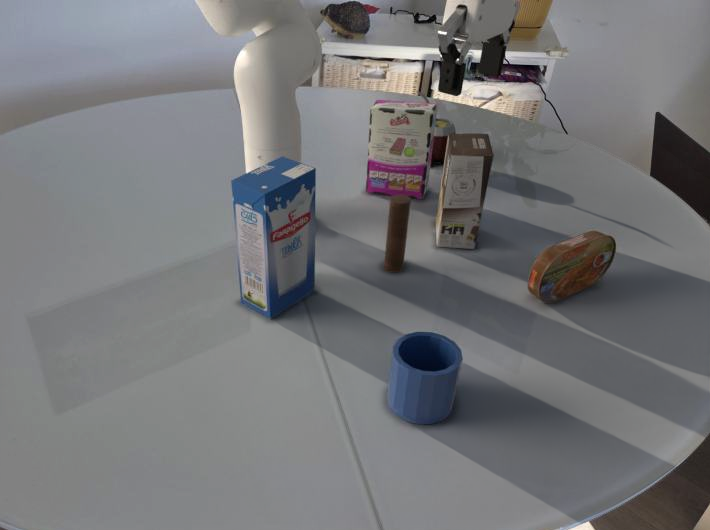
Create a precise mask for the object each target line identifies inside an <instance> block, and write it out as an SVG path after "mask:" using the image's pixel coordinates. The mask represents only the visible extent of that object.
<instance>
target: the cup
mask: <svg viewBox="0 0 710 530" xmlns="http://www.w3.org/2000/svg"><path fill="white" fill-rule="evenodd" d="M463 360H464V359H463V352H462V349H461V348H460V347H459V345H458V344H457V343H456V342H455V341H454V340H452V338H449V337H448V336H446V335H443V334H440V333H437V332H432V331H413V332H409V333H406V334H403V335H402V336H401V337H399V338H398V339H397V340H396V341H395V342H394V344H393V345H392V352H391V360H390V367H389V368H390V369H389V377H388V386H387V397H386V398H387V404H388V407H389V409H390V411H392V413H394V415H396V416H397V417H398V418H400V419H401V420H404V421H405V422H408V423H411V424H415V425H433V424H436V423H440V422H442V421H443V420H445V419H446V418H447V417H449V415H450V413H451V412H452V410H453V405H454V403H455V398H456V393H457V390H458V389H457V388H458V384H459V378H460V374H461V369H462V365H463Z"/></svg>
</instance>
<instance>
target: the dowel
mask: <svg viewBox="0 0 710 530" xmlns="http://www.w3.org/2000/svg"><path fill="white" fill-rule="evenodd" d="M411 201H412V198H410V197H409V196H407V195H403V194H397V195H393V196H390V198H389V209H388V220H387V230H386V231H387V232H386V242H385V250H384V251H385V253H384V262H383V263H384V264H383V268H384V270H385V271H388V272H390V273H398V272H401V271H402V270H403V269H404V262H405V254H406V246H407V237H408V229H409V221H410V220H409V219H410V210H411V205H412V203H411Z"/></svg>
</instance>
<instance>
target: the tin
mask: <svg viewBox="0 0 710 530" xmlns="http://www.w3.org/2000/svg"><path fill="white" fill-rule="evenodd" d="M616 251H617V242H616V239H615V238H614V237H613V236H611V235H608V234H605V233H602V232H599V231H598V230H597V231H596V230H590V231H586V232H583V233H581V234H579V235H575V236H574V237H571V238H569V239H568V238H567V239H566V240H563V241H561V242H558V243H555V244H553V245H551V246H549V247H547V248H546V249H545V250H543V251H542V252H541V253H540V254H539V255H538V257H536V259H535V261H534V262H533V263H532V265H531V267H530V271H529V275H528V280H527V290H528V292H529V293H530V294H531V296H533V297H535V298H537V299H539V300H540V301H541V302H542V303H545V304H553V303H556V302H558V301H560V300H563V299H565V298H567V297H570V296H571V295H574V294H577V293H579V292H581V291H584V290H585V289H588V288H590V287H591V286H593V285H595V284H597V283H598V282H599V281H600V280H601V279H602V278H603V277H604V275H605V274H606V273H607V271H608V270H609V269H610V268H611V265H612V263H613V260H614V258H615V257H616V256H615V255H616Z"/></svg>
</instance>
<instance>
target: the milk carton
mask: <svg viewBox="0 0 710 530" xmlns="http://www.w3.org/2000/svg"><path fill="white" fill-rule="evenodd" d="M316 178H317V168H316V167H314V166H311V165H308V164H306V163H302V162H301V163H299V162H297V161H294V160H291V159H288V158H285V157H280V158H278V159H276V160H274V161H271V162H269V163H267V164H265V165H263V166H261V167H259V168H257V169H255V170H252V171H250V172H248V173H246V172H245V173H243V174H242V175H240V176H238V177H235V178H234V179H233V178H232V180H230V182H231V195H232V207H233V220H234V231H235V244H236V246H235V247H236V257H237V267H238V269H237V271H238V280H239V293H240V303H241V304H242V305H244V306H246V307H248V308H250V309H251V310H253V311H254V312H256V313H259V314H260V315H262V316H263V317H265V318H267V319H269V320H271V319H273V318H274V317H277V316H278V315H279V314H281V313H282V312H283V311H285V310H287V309H288V308H290V307H291V306H293V305H294V304H296V303H298V302H299V301H301V300H302V299H304V298H305V297H307V296H309V295H310V294H311V293H313V292H314V291H315V290H316V289H315V283H316V282H315V281H316V280H315V279H316V271H315V270H316V192H317V191H316V187H317V186H316V185H317V183H316V182H317V179H316Z"/></svg>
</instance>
